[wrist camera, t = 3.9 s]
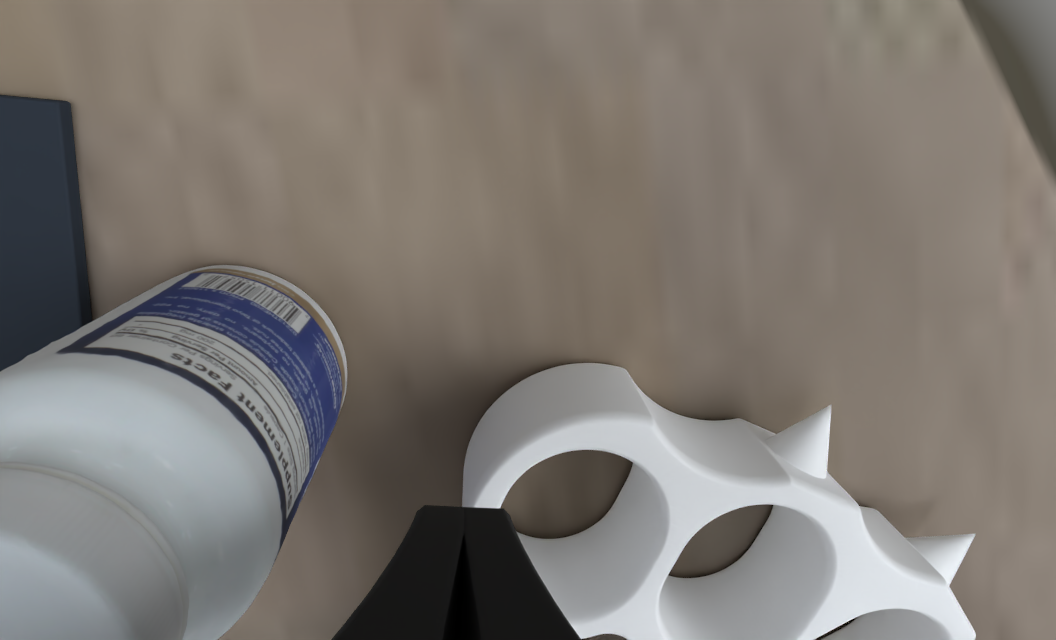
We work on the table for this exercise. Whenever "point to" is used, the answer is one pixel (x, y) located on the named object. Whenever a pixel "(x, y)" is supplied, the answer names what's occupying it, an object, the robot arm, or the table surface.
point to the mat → (39, 228)
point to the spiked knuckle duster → (696, 499)
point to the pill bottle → (162, 458)
